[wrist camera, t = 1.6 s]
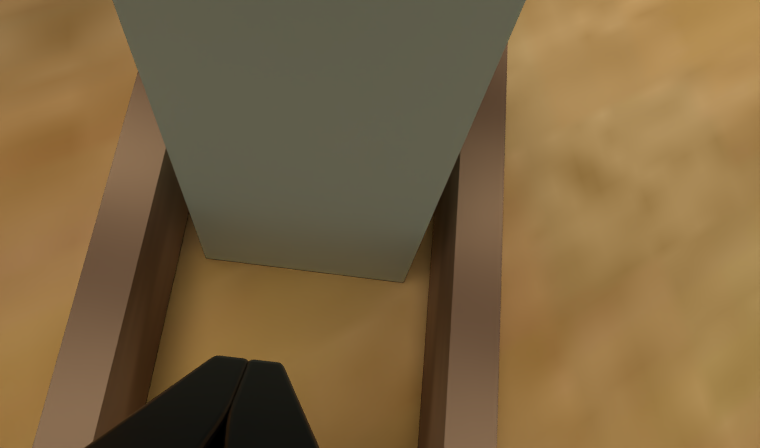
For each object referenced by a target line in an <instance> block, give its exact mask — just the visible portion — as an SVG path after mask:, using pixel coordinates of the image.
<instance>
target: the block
mask: <svg viewBox="0 0 760 448" xmlns="http://www.w3.org/2000/svg"><path fill="white" fill-rule="evenodd" d="M525 1H526V0H113V3H114V6H115V8H116V11H117V14H118V17H119V20H120V22H121V25H122V28H123V31H124V33H125V36H126V39H127V42H128V44H129V47H130V50H131V53H132V55H133V58H134V61H135V64H136V66H137V69H138V72H139V75H140V77H141V80H142V83H143V86H144V88H145V91H146V94H147V97H148V100H149V102H150V105H151V108H152V111H153V113H154V116H155V119H156V122H157V124H158V127H159V130H160V133H161V135H162V138H163V141H164V144H165V146H166V149H167V152H168V155H169V157H170V160H171V163H172V166H173V168H174V171H175V174H176V177H177V180H178V182H179V185H180V188H181V191H182V193H183V196H184V199H185V202H186V204H187V207H188V210H189V213H190V215H191V218H192V221H193V224H194V226H195V229H196V232H197V235H198V237H199V240H200V243H201V246H202V249H203V251H204V254H205V257H206V258H210V259H218V260H226V261H234V262H242V263H250V264H258V265H266V266H274V267H282V268H290V269H298V270H306V271H314V272H322V273H330V274H338V275H346V276H354V277H362V278H370V279H378V280H386V281H395V282H404V280H405V278H406V275H407V273H408V271H409V268H410V266H411V264H412V261H413V259H414V257H415V255H416V252H417V250H418V248H419V245H420V243H421V241H422V238H423V236H424V234H425V231H426V229H427V227H428V225H429V222H430V220H431V218H432V215H433V213H434V211H435V208H436V206H437V204H438V201H439V199H440V197H441V195H442V192H443V190H444V188H445V185H446V183H447V181H448V178H449V176H450V174H451V171H452V169H453V167H454V165H455V162H456V160H457V158H458V155H459V153H460V151H461V148H462V146H463V144H464V141H465V139H466V137H467V135H468V132H469V130H470V128H471V125H472V123H473V121H474V118H475V116H476V114H477V111H478V109H479V107H480V104H481V102H482V100H483V98H484V95H485V93H486V91H487V88H488V86H489V84H490V81H491V79H492V77H493V74H494V72H495V70H496V68H497V65H498V63H499V61H500V58H501V56H502V54H503V51H504V49H505V47H506V44H507V42H508V40H509V38H510V35H511V33H512V31H513V28H514V26H515V24H516V21H517V19H518V17H519V14H520V12H521V10H522V8H523V5H524V3H525Z"/></svg>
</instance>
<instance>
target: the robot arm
mask: <svg viewBox="0 0 760 448" xmlns="http://www.w3.org/2000/svg"><path fill="white" fill-rule="evenodd" d="M84 448H319V446H318V444H317V441H316V439H315V437H314V434H313V432H312V430H311V428H310V425H309V423H308V421H307V418H306V416H305V414H304V412H303V409H302V407H301V405H300V402H299V400H298V398H297V396H296V393H295V391H294V389H293V386H292V384H291V382H290V380H289V377H288V375H287V373H286V370H285V368H284V366H283V365H282V364H281V363H278V362H270V361H261V360H250V361H249V362H248V361H247V360H246V359H243V358H235V357H227V356H214V357H212V358H211V359H209V360H208V361H206V362H205V363H204V364H202V365H201V366H199V367H198V368H196V369H195V370H194V371H192V372H191V373H189V374H188V375H186V376H185V377H184V378H182V379H181V380H179V381H178V382H177V383H175V384H174V385H172V386H171V387H169V388H168V389H167V390H165V391H164V392H162V393H161V394H160V395H158V396H157V397H155V398H154V399H152V400H151V401H150V402H148V403H147V404H145V405H144V406H142V407H141V408H140V409H138V410H137V411H135V412H134V413H133V414H131V415H130V416H128V417H127V418H125V419H124V420H123V421H121V422H120V423H118V424H117V425H116V426H114V427H113V428H111V429H110V430H108V431H107V432H106V433H104V434H103V435H101V436H100V437H98V438H97V439H96V440H94V441H93V442H91V443H90V444H89V445H87V446H86V447H84Z"/></svg>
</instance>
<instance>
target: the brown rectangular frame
mask: <svg viewBox="0 0 760 448" xmlns="http://www.w3.org/2000/svg"><path fill="white" fill-rule="evenodd" d="M507 44H508V42H507ZM507 44H506V47H505V49H504V51H503V54H502V56H501V58H500V61H499V63H498V65H497V68H496V70H495V72H494V74H493V77H492V79H491V81H490V84H489V86H488V88H487V91H486V93H485V95H484V98H483V100H482V102H481V104H480V107H479V109H478V111H477V114H476V116H475V118H474V121H473V123H472V125H471V128H470V130H469V132H468V135H467V137H466V139H465V141H464V144H463V146H462V148H461V151H460V153H459V155H458V158H457V160H456V162H455V165H454V167H453V169H452V171H451V174H450V176H449V178H448V181H447V183H446V185H445V188H444V190H443V192H442V195H441V197H440V199H439V201H438V204H437V206H436V208H435V211H434V224H433V238H432V253H431V267H430V281H429V295H428V310H427V324H426V338H425V353H424V367H423V381H422V395H421V410H420V424H419V438H418V448H497V418H498V380H499V343H500V306H501V268H502V231H503V193H504V156H505V119H506V81H507ZM188 213H189V210H188V207H187V204H186V202H185V199H184V196H183V193H182V191H181V188H180V185H179V182H178V180H177V177H176V174H175V171H174V168H173V166H172V163H171V160H170V157H169V155H168V152H167V149H166V146H165V144H164V141H163V138H162V135H161V133H160V130H159V127H158V124H157V122H156V119H155V116H154V113H153V111H152V108H151V105H150V102H149V100H148V97H147V94H146V91H145V88H144V86H143V83H142V80H141V77H140V75H139V72H138V73H137V77H136V81H135V84H134V88H133V91H132V95H131V98H130V102H129V105H128V109H127V113H126V116H125V120H124V123H123V127H122V130H121V134H120V137H119V141H118V145H117V148H116V152H115V155H114V159H113V162H112V166H111V169H110V173H109V177H108V180H107V184H106V187H105V191H104V194H103V198H102V201H101V205H100V209H99V212H98V216H97V219H96V223H95V226H94V230H93V233H92V237H91V241H90V244H89V248H88V251H87V255H86V258H85V262H84V265H83V269H82V273H81V276H80V280H79V283H78V287H77V290H76V294H75V297H74V301H73V304H72V308H71V312H70V315H69V319H68V322H67V326H66V329H65V333H64V336H63V340H62V344H61V347H60V351H59V354H58V358H57V361H56V365H55V368H54V372H53V376H52V379H51V383H50V386H49V390H48V393H47V397H46V400H45V404H44V408H43V411H42V415H41V418H40V422H39V425H38V429H37V432H36V436H35V440H34V443H33V447H32V448H84V447H86V446H87V445H89V444H90V443H91V442H93V441H94V440H96V439H97V438H98V437H100V436H101V435H103V434H104V433H106V432H107V431H108V430H110V429H111V428H113V427H114V426H116V425H117V424H118V423H120V422H121V421H123V420H124V419H125V418H127V417H128V416H130V415H131V414H133V413H134V412H135V411H137V410H138V409H140V408H141V407H142V406H144V405H145V404H146V400H147V396H148V391H149V387H150V382H151V378H152V373H153V369H154V364H155V360H156V356H157V351H158V347H159V342H160V338H161V333H162V329H163V324H164V320H165V315H166V311H167V307H168V302H169V298H170V293H171V289H172V284H173V280H174V275H175V271H176V266H177V262H178V258H179V253H180V249H181V244H182V240H183V235H184V231H185V226H186V222H187V217H188Z"/></svg>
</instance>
